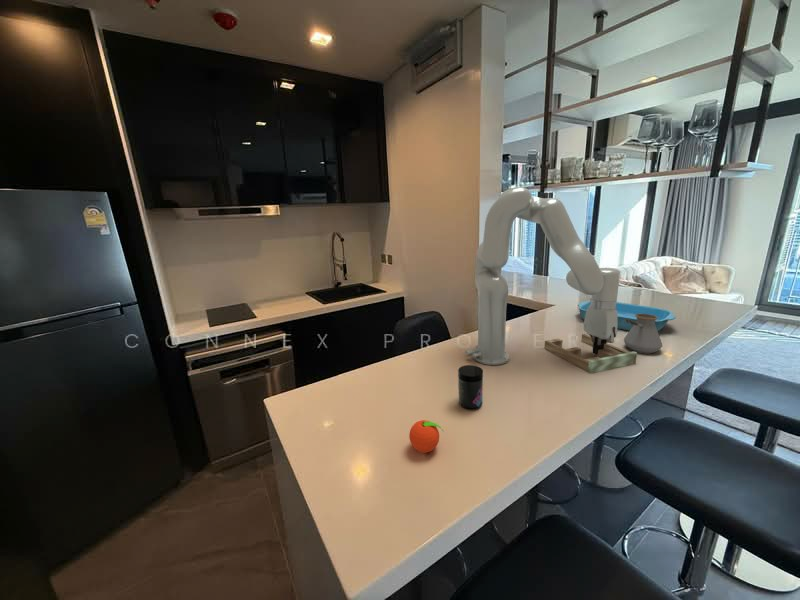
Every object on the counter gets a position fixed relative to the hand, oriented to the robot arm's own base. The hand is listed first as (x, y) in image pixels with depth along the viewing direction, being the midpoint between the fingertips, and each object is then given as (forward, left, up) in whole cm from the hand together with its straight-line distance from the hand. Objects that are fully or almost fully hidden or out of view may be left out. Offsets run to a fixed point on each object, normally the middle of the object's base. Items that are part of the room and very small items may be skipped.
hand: (597, 353), depth 118 cm
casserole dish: (+37, +23, -2) cm, 44 cm away
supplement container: (-56, -11, -1) cm, 57 cm away
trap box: (-3, +2, -1) cm, 3 cm away
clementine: (-74, -24, -1) cm, 78 cm away
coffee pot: (+14, -3, -1) cm, 15 cm away
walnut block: (0, -5, -1) cm, 5 cm away
